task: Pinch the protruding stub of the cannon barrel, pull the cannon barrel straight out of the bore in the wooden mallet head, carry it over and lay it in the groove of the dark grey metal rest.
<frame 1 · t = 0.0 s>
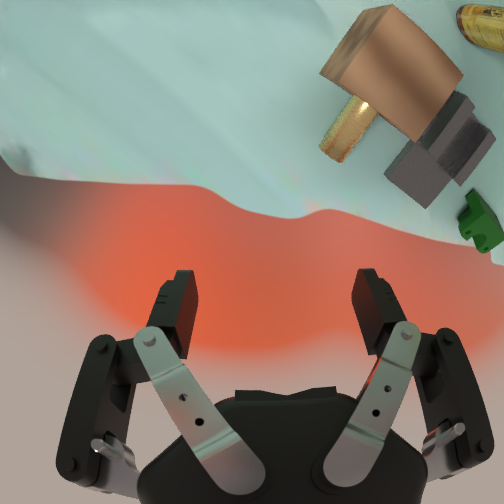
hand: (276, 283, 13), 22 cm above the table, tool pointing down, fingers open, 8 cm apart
sauce bottle: (468, 24, 15), on the table
wooden mallet head: (377, 66, 23), on the table
cannon barrel: (365, 94, 24), point 2 cm above the table, touching wooden mallet head
rest: (436, 148, 29), on the table
clamp: (471, 213, 36), on the table
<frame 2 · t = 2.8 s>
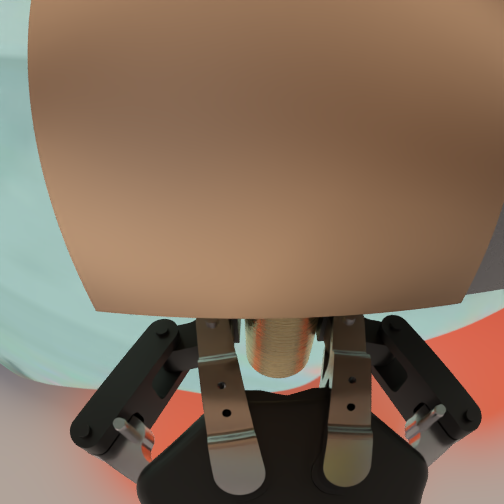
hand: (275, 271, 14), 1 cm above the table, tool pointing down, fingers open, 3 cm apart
wooden mallet head: (275, 80, 9), on the table
cannon barrel: (278, 185, 10), point 2 cm above the table, tilted 10°, touching wooden mallet head, gripper
rest: (499, 177, 11), on the table
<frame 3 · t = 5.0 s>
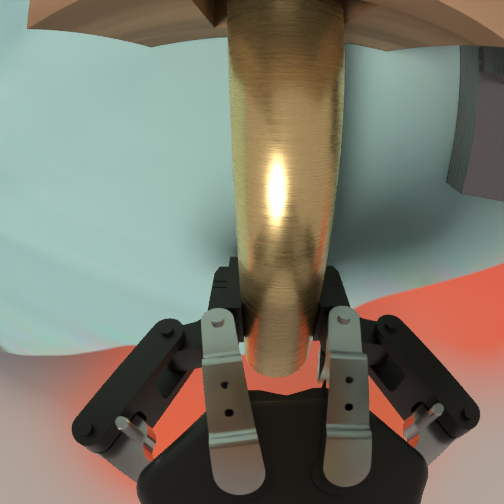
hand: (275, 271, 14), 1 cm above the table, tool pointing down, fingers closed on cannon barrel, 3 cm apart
cannon barrel: (277, 184, 10), point 2 cm above the table, touching gripper
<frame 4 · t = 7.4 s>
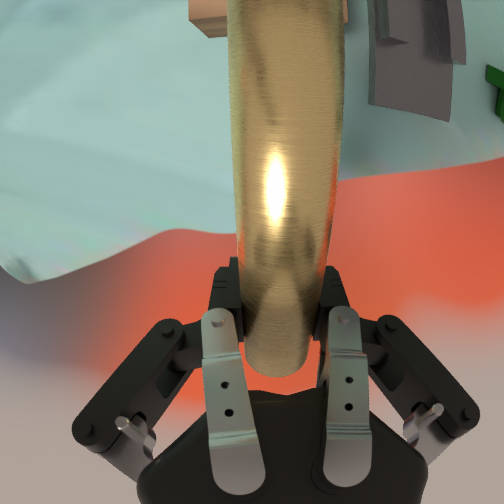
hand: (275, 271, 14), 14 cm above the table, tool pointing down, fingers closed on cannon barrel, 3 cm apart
cannon barrel: (277, 185, 10), point 16 cm above the table, tilted 5°, touching gripper
rest: (409, 39, 16), on the table
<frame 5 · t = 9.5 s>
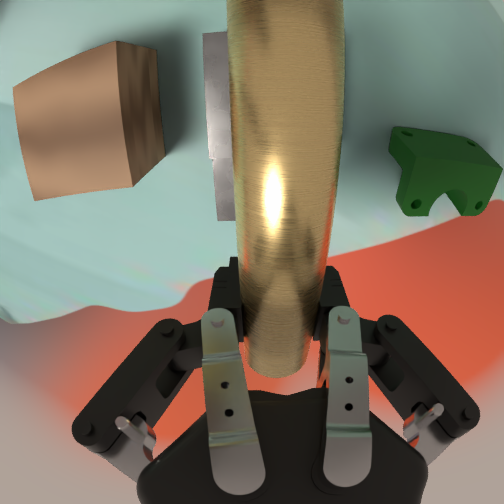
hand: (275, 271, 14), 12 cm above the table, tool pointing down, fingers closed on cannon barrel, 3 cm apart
wooden mallet head: (110, 112, 20), on the table
cannon barrel: (277, 186, 10), point 14 cm above the table, touching gripper
rest: (266, 128, 21), on the table
clamp: (427, 163, 22), on the table
when the fingers open (2 cm above the table, at t = 11.6 s): cannon barrel drops 1 cm, resting on rest.
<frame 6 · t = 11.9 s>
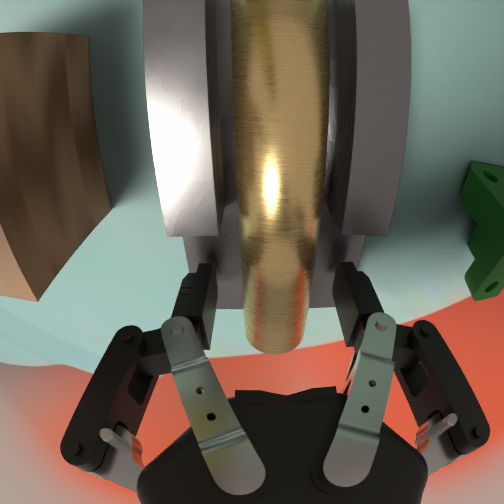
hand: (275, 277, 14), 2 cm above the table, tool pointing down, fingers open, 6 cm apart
wooden mallet head: (33, 142, 11), on the table
cannon barrel: (274, 175, 11), point 1 cm above the table, touching rest
rest: (275, 164, 13), on the table
clamp: (496, 211, 13), on the table
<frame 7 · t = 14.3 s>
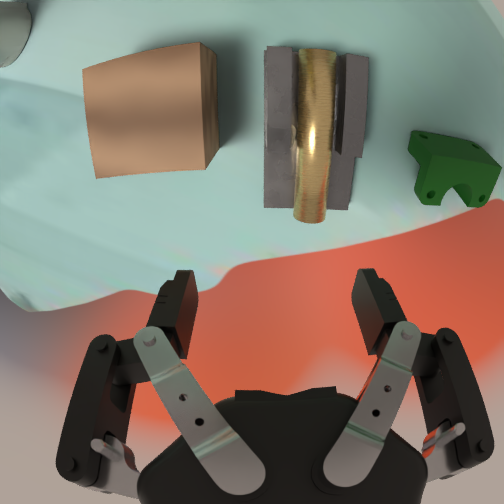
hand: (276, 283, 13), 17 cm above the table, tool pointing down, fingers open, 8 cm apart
wooden mallet head: (168, 105, 24), on the table
cannon barrel: (310, 133, 24), point 1 cm above the table, touching rest
rest: (309, 130, 25), on the table
clamp: (439, 162, 26), on the table
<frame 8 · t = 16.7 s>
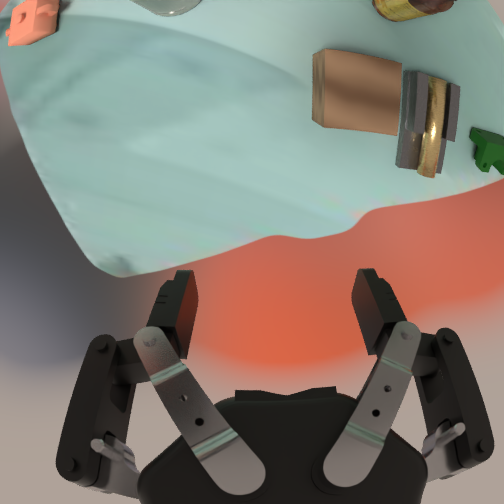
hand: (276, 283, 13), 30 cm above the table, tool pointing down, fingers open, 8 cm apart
sauce bottle: (387, 6, 23), on the table
pink cube teapot: (45, 22, 22), on the table
wooden mallet head: (346, 90, 32), on the table
cannon barrel: (427, 124, 33), point 1 cm above the table, touching rest
rest: (423, 122, 34), on the table
clamp: (483, 147, 35), on the table
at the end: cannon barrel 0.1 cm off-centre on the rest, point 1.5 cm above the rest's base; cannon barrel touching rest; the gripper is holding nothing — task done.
